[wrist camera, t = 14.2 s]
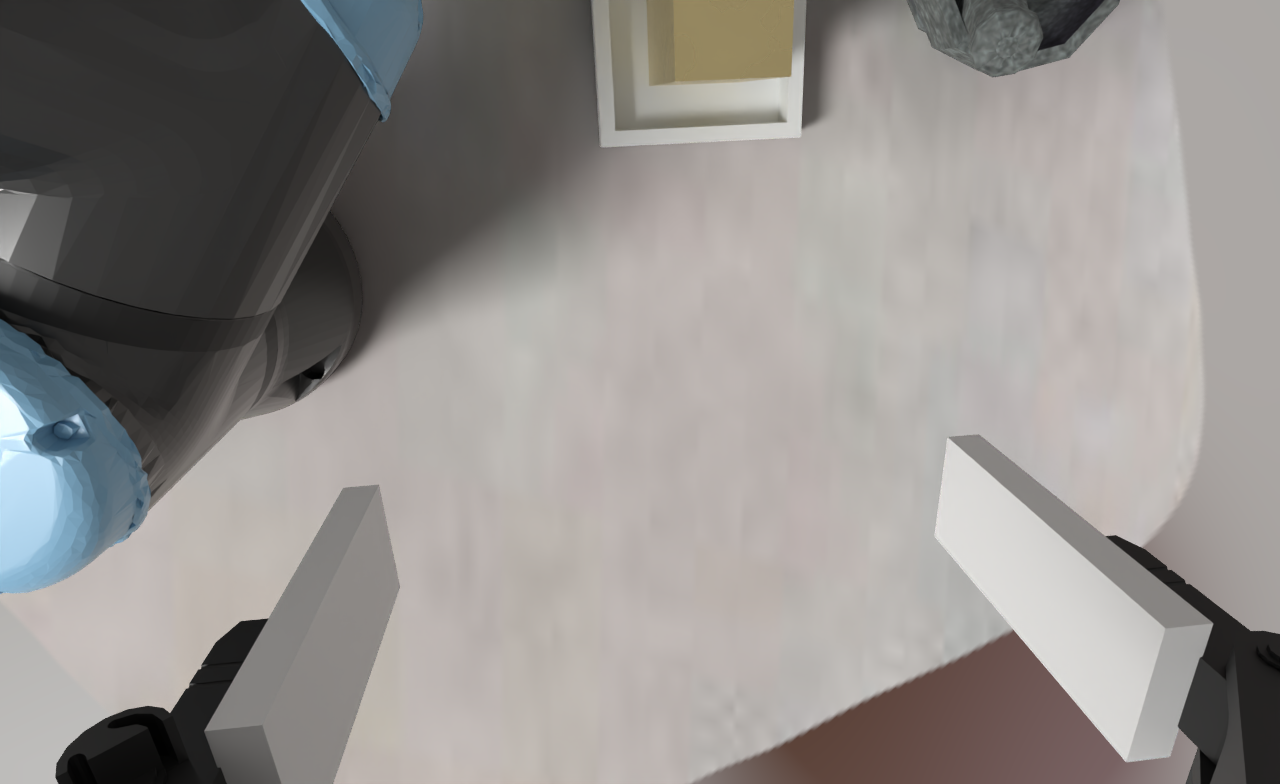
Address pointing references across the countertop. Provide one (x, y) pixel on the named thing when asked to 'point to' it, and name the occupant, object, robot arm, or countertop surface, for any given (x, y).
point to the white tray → (684, 90)
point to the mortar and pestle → (1009, 30)
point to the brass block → (718, 41)
